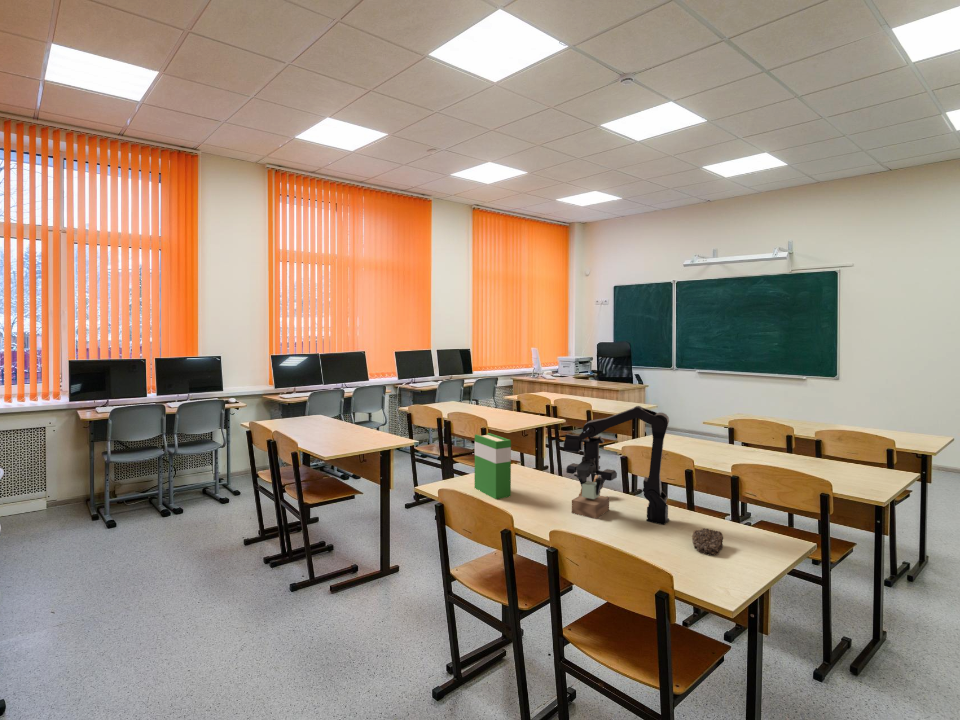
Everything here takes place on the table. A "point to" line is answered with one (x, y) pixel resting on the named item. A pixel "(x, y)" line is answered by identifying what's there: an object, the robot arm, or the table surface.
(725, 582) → the table surface
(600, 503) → the walnut block
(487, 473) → the hardback book
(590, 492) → the sage cube
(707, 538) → the brown rock
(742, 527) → the table surface
